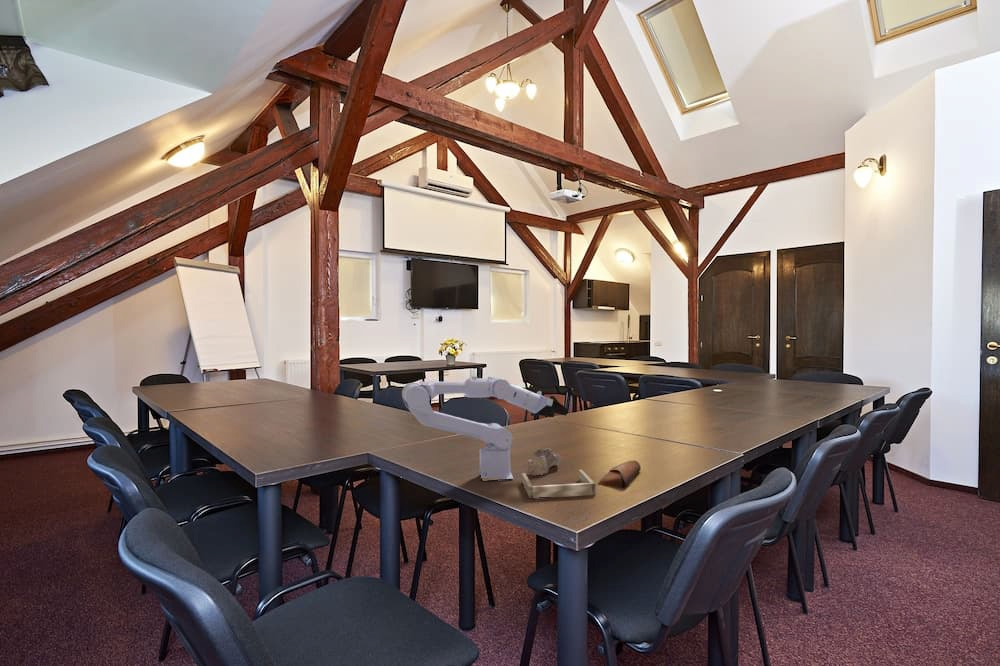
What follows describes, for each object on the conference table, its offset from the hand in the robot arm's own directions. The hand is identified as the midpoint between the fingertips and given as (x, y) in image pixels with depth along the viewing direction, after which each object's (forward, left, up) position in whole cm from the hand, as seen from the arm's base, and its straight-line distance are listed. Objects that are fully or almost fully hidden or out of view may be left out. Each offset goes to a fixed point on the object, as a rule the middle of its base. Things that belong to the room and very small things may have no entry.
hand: (560, 413), depth 154 cm
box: (-6, -18, -18) cm, 26 cm away
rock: (-6, -1, -18) cm, 19 cm away
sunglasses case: (+15, -12, -18) cm, 27 cm away
